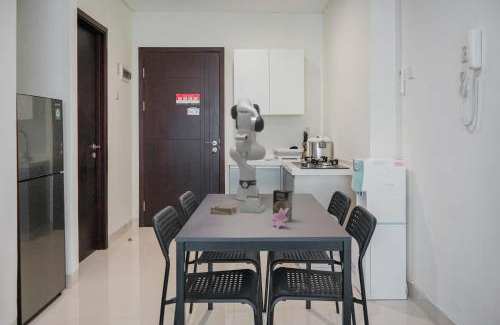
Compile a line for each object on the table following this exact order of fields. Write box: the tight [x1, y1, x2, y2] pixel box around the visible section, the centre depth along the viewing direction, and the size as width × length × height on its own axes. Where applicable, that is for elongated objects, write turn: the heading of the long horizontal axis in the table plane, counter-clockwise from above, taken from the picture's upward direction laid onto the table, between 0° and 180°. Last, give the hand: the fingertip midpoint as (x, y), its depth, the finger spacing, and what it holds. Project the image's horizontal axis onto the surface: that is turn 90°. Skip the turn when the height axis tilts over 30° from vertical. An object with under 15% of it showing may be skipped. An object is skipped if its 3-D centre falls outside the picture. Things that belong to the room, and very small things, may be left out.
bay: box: [210, 204, 237, 216], centre depth 247 cm, size 10×12×4 cm
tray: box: [240, 204, 266, 214], centre depth 253 cm, size 10×12×3 cm
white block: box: [244, 195, 261, 208], centre depth 253 cm, size 5×8×9 cm, turn 72°
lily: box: [271, 208, 289, 230], centre depth 210 cm, size 12×12×10 cm
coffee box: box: [272, 189, 293, 223], centre depth 226 cm, size 9×6×16 cm
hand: (244, 158), depth 263 cm, fingers open, 8 cm apart
